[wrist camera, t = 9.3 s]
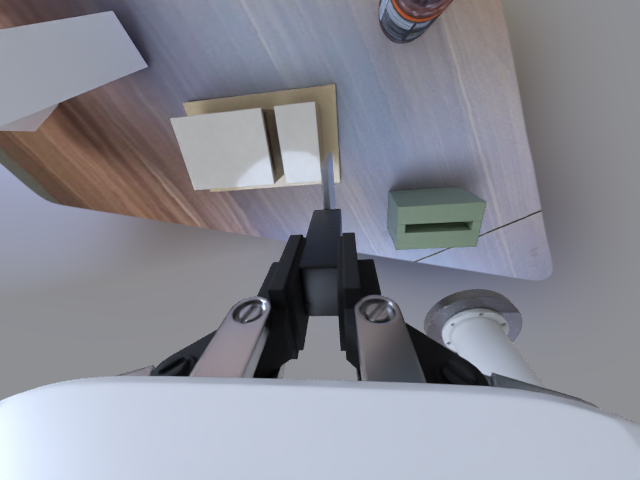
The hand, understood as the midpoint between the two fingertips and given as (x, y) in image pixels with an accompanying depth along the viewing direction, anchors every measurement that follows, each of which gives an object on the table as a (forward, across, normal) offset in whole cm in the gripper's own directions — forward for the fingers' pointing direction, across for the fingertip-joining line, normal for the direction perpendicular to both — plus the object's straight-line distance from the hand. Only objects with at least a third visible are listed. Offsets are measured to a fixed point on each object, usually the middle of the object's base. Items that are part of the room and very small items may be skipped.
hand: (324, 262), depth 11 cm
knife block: (+25, -13, +7) cm, 29 cm away
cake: (+26, +10, -4) cm, 28 cm away
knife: (+11, 0, 0) cm, 11 cm away
